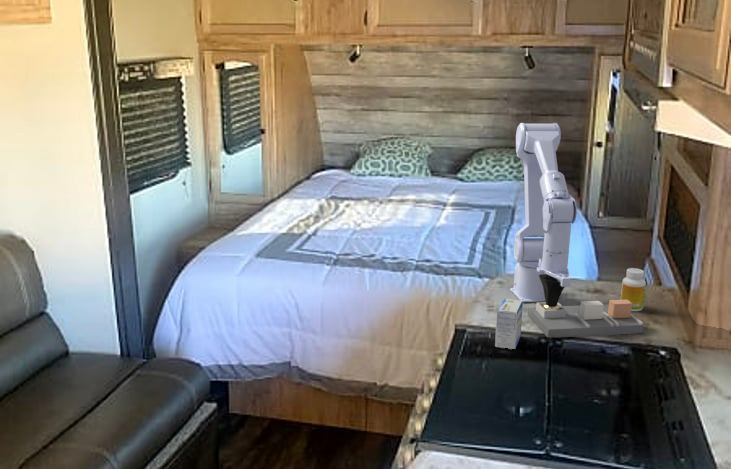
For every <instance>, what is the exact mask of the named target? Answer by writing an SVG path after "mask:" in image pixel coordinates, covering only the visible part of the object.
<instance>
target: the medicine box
mask: <svg viewBox="0 0 731 469" xmlns="http://www.w3.org/2000/svg"><path fill="white" fill-rule="evenodd" d="M523 306H524V302H523V301H520V300H519V299H512V298H504V299H503V300H502V302H501V304H500V305H499V308H498V309H497V311H496V319H495V320H496V322H495V336H494V338H495V343H494V346H495V347H496V348H500V349H505V348H508V349H507V350H512V349H515V350H516V348H517V346H518V343H519V341H520V339H521V336H522V334H521V333H522V322H523V321H522V320H523V309H524V308H523Z"/></svg>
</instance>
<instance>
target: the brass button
mask: <svg viewBox="0 0 731 469" xmlns="http://www.w3.org/2000/svg"><path fill="white" fill-rule="evenodd" d="M543 308H544V309H545V310H559V305H558V304H557V306H547V305H546V303H544V304H543Z"/></svg>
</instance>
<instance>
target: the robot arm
mask: <svg viewBox="0 0 731 469" xmlns="http://www.w3.org/2000/svg"><path fill="white" fill-rule="evenodd" d="M561 135H562V133H561V127H560V126H559V124H558V123H557V122H553V123H524V122H520V123H519V124H518V126H517V128H516V134H515V153H516V157H517V158H518V159H520V160H522V164H523V173H524V174H523V175H524V176H523V177H524V212H525V215H524V217H525V219H524V220H525V224H524V226H523V227H521V228H520V229H518V230H517V231H516V233H515V234H514V244H513V257H514V260H515V261H516V262H517V263H515V267H514V276H513V287H510V288H509V290H510V291H511V292H512V293H513V295H514V296H515V297H516V298H517V300H519V301H523V303H541V302H546V305H547V306H557V303H559V300H560V298H561V294H562V292H563V291H564V289H565V288H566V287H567V288H568V287H569V288H570V287H571V285H572V284H571V283H572V278H571V277H570V272H569V268H568V265H569V255H570V254H569V253H570V244H571V233H572V224H575V222H576V221H577V220H576V219H577V214H578V209H577V202H576V199H575V198H574V197H573V196H572V194H569V190H568V187H567V183H566V182H567V181H566V178H565V175H564V173H562V172H560V171H559V167H558V161H557V160H558V159H557V153H556V152H557V151H558V149H559V148H558V147H559V145H560V143H561Z"/></svg>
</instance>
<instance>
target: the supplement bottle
mask: <svg viewBox="0 0 731 469" xmlns="http://www.w3.org/2000/svg"><path fill="white" fill-rule="evenodd" d="M625 275H626V276H625V277H624V278H623V279H622V283H621V292H620V299H619V300H629V301H630V302H631V303H632V311H631V312H640V311H642V310H643V308H644V303H645V302H644V300H645V291H646V285H647V284H646V280H645V279H644V276H645V272H644V270H643V269H640V268H635V267H629V268H627V269H626V273H625Z"/></svg>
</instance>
